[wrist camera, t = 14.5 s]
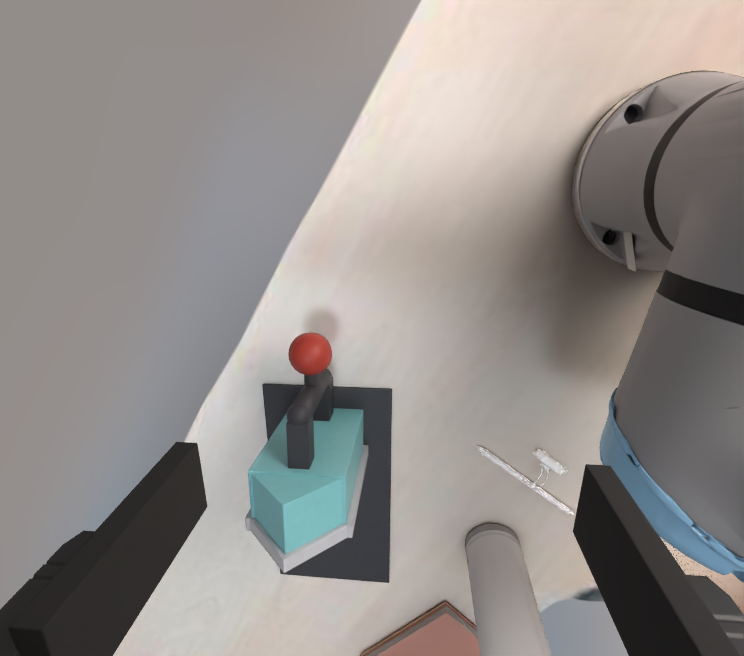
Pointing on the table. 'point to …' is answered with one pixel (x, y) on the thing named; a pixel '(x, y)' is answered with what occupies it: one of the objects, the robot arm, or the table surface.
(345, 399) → the ironing mat
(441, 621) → the notebook
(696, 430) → the robot arm
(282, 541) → the iron
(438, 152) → the table surface
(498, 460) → the picture light
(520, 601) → the travel mug
